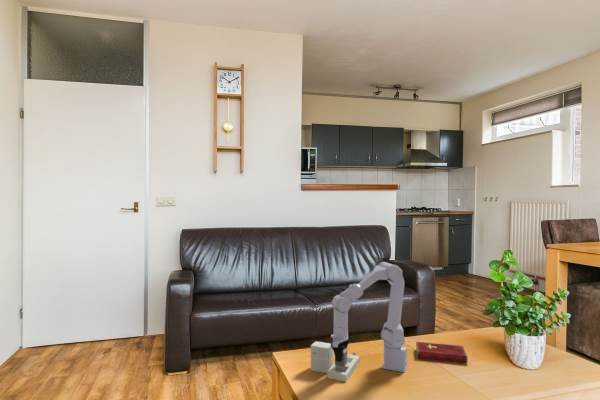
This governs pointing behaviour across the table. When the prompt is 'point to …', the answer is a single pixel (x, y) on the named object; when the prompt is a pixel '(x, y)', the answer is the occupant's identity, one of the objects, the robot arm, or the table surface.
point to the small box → (321, 357)
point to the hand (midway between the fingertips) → (340, 359)
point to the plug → (344, 359)
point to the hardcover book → (441, 352)
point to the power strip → (344, 368)
